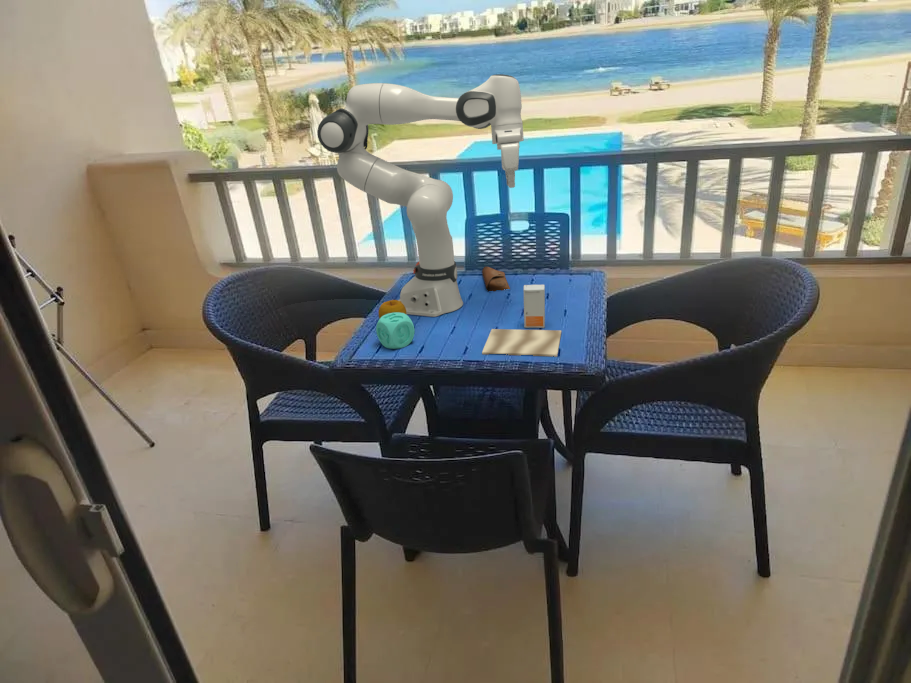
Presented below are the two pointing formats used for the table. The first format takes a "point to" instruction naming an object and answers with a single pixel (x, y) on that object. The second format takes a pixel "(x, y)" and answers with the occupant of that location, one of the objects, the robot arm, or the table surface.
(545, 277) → the table surface
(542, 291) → the skincare box
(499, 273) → the sunglasses case
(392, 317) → the decorative dice
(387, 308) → the apple
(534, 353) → the birch board
